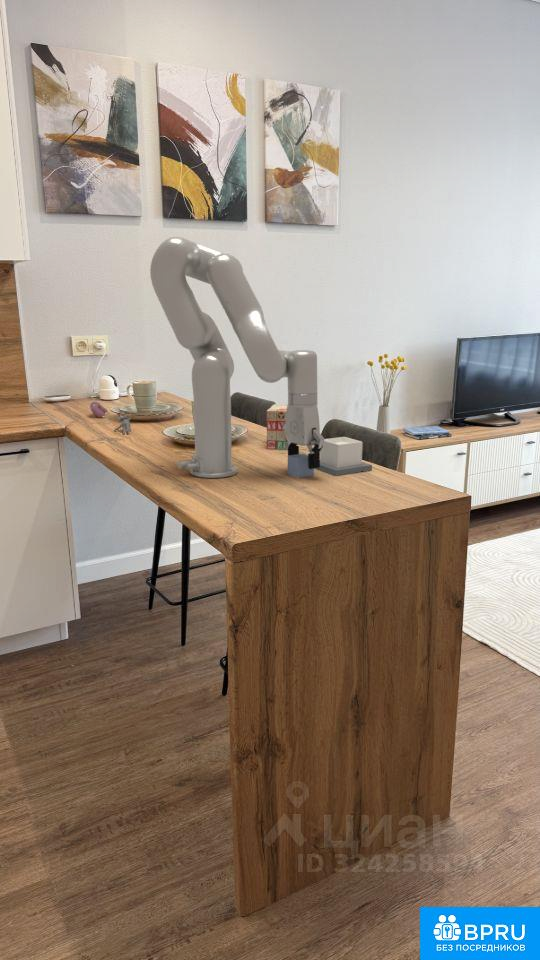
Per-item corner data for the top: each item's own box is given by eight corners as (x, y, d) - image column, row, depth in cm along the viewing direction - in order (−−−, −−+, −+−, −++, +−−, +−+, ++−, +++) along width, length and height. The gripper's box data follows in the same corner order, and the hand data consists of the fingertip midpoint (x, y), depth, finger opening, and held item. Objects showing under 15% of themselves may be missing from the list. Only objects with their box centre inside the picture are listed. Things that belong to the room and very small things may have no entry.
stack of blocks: (277, 436, 234) (278, 399, 231) (296, 437, 233) (296, 400, 230) (266, 449, 214) (266, 409, 210) (286, 450, 213) (287, 410, 209)
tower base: (335, 475, 182) (336, 447, 180) (309, 466, 192) (310, 439, 190) (371, 470, 188) (373, 442, 186) (345, 461, 198) (345, 434, 196)
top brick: (297, 478, 180) (298, 459, 179) (287, 473, 184) (287, 455, 183) (313, 475, 183) (314, 457, 182) (303, 471, 187) (303, 453, 186)
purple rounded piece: (98, 418, 276) (89, 402, 274) (109, 413, 276) (100, 397, 274) (95, 422, 266) (86, 406, 265) (106, 417, 266) (96, 400, 264)
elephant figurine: (109, 436, 234) (107, 422, 241) (122, 446, 238) (119, 432, 245) (131, 417, 232) (129, 404, 239) (144, 428, 236) (141, 415, 243)
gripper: (272, 397, 184) (274, 460, 188) (309, 404, 170) (310, 473, 174) (296, 394, 188) (297, 456, 192) (334, 401, 173) (334, 469, 178)
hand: (303, 464), depth 183 cm, fingers open, 9 cm apart
